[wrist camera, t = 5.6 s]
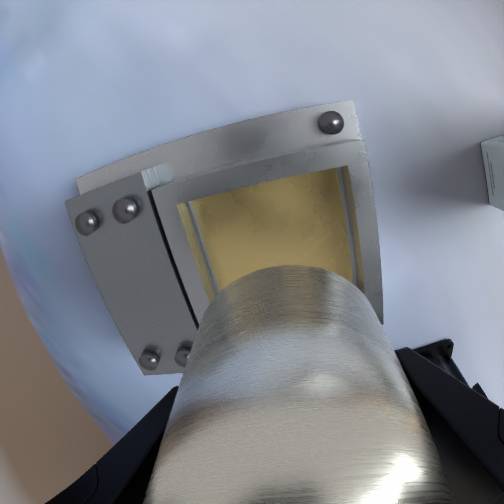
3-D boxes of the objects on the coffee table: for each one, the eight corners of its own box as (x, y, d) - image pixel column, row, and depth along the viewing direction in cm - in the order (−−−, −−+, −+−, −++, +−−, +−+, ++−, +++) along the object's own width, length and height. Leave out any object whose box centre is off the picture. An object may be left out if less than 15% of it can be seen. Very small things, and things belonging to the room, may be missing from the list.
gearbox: (343, 103, 15) (369, 94, 11) (373, 312, 20) (393, 354, 16) (91, 173, 17) (49, 188, 13) (162, 350, 22) (144, 391, 18)
